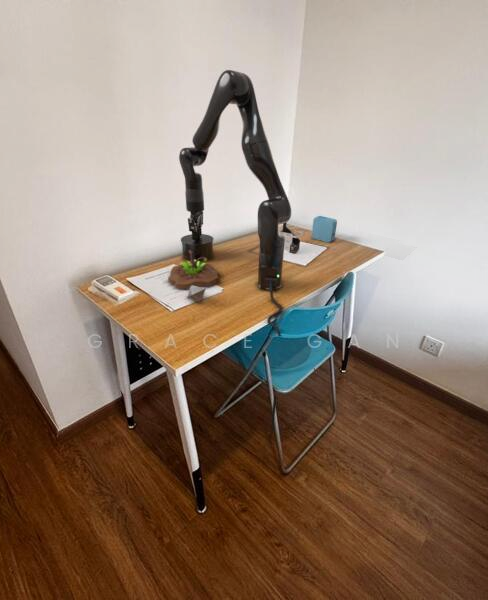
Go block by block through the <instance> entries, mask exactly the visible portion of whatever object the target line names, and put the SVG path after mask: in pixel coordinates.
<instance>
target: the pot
mask: <svg viewBox="0 0 488 600" xmlns="http://www.w3.org/2000/svg"><path fill="white" fill-rule="evenodd" d="M213 243H214V241H213V242H211V243H209V244H206V245H197V246H196V245H187V244H184V243H182V242H181V250H182V258H183V260H185V261H186V262H187V261H189V262H191V254H190V253H189V250H192V254H193V259H195V260H197V259H198V258H200V257H205V258H206V259H207V261H206V262H208V261H210V260H212V259H213V257H214V244H213ZM199 263H205V261H204V260H203V259H200V260H199Z"/></svg>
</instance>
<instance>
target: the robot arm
mask: <svg viewBox="0 0 488 600" xmlns="http://www.w3.org/2000/svg"><path fill="white" fill-rule="evenodd" d="M229 105H235V106H236V108H237V109H238V112H239V115H240V117H241V122H242V131H241V140H240V146H241V151H242V155H243V157H244V160H245V163H246V165H247V167H248V169H249V170H250V172H251V173H252V174H253V176H254V177H255V179H257V180H258V181H259V182H260V184H261V185H262V187H263V188H264V190H265V193H266V196H267V198H268V199H265V200H263V201H261V202H260V203H259V205H258V208H257V236H258V239H259V246H258V247H259V249H258V268H257V269H258V271H257V272H258V273H257V286H258V288H260V290H262V291H263V290H265V291H269V295H270V300H271V302H272V303H273V304H274V305H276V306H277V307H278V308H279V309H278V310H277V311H276V312H273V313H272V314H270V315H269V316H268V318H267V324H268V325H269V326H271V327H272V328H273V329H275V331H276V332H277V336H278V337H280V338H281V337H282V333H281V330H280V328H279V327H278V326H277V325H276V324H275V323H273V322H271V319H273V318H274V317H275V316H277V315H279V314H280V313H281V312H282V310H283V306H282V305H281V304H280V303H278V302H277V301H276V300H275V298H274V293H273V292H277V290H279V289H280V288H282V285H283V283H282V281H283V280H282V279H283V267H284V260H283V256H284V244H285V237H284V236H283V235H282V234H279V226H280V225H283V223H286V222H289V221H290V219H291V217H292V206H291V203H290V200H289V198H288V196H287V194H286V191H285V189H284V186H283V184H282V181H281V179H280V176H279V173H278V170H277V167H276V164H275V161H274V158H273V154H272V153H273V152H272V150H271V147H270V143H269V141H268V137H267V134H266V131H265V128H264V125H263V124H264V123H263V121H262V118H261V115H260V110H259V105H258V102H257V97H256V92H255V87H254V85H253V82H252V79H251V78H250V77H249V75H247V74H246V73H244V72H242V71H241V72H240V71H238V70H233V69H226V70H224V71H223V72H222V73H221V74H220V75H219V77H218V79H217V80H216V84H215V86H214V89H213V92H212V94H211V97H210V100H209V103H208V106H207V108H206V111H205V114H204V116H203V118H202V120H201V122H200V124H199V125H198V128H197V129H196V131H195V133H194V134H193V136H192V145H193V146H192V147H191V146H190V147H183V148H182V149H181V150H180V151H179V155H178V161H179V164H180V168H181V171H182V174H183V177H184V184H185V191H184V193H185V209H186V211H187V212H189V213H190V216H189V217H188V218H187V224H188V231H189V232H191V234H192V240H197V227H199V228H200V236H201V235H202V234H203V233H202V232H203V231H202V230H203V229H202V227H203V225H204V211H205V198H204V188H203V176H202V174H201V173H199V172H196V171H195V167H200V166H202V165H203V164H204V163H205V162H206V161H207V158H208V154H209V151H210V147H211V146H212V145H213V143H214V142H215V140H216V138H217V136H218V134H219V130H220V120H221V117H222V114H223V112H224V110H225V109H226V108H227V107H228V106H229ZM286 224H287V223H286ZM272 400H273V402H272V404H273V405H272V414H271V423H270V438H273V437H274V430H275V429H274V426H275V417H276V405H277V396H276V395H274V396H273V399H272Z"/></svg>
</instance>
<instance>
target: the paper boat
mask: <svg viewBox="0 0 488 600" xmlns="http://www.w3.org/2000/svg"><path fill="white" fill-rule="evenodd" d="M211 287H212V285H211V286H209V287H198V286H193V285H192V286H191V287H190V288H189V289H188V294H187V298H188V299H190V300H192V301H194V302H196V303H200V302H201V300H202V299H203V296H204V294H205V291H206V290H207V289H209V288H211Z"/></svg>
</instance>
